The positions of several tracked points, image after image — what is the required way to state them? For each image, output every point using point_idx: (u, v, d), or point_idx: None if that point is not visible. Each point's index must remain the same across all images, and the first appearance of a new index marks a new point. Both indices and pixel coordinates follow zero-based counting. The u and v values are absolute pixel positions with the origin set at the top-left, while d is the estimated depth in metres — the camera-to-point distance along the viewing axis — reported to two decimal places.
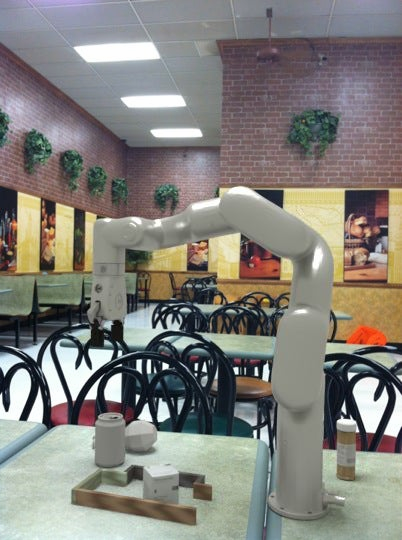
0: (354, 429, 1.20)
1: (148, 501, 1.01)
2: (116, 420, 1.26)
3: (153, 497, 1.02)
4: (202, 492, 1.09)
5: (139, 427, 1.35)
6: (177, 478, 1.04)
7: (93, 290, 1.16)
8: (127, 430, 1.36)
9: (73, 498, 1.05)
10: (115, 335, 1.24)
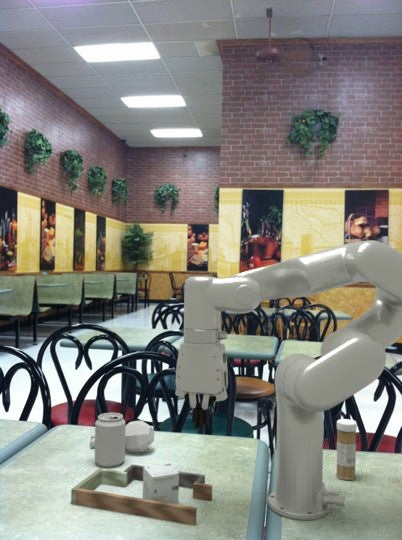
0: (354, 429, 1.20)
1: (148, 501, 1.01)
2: (116, 420, 1.26)
3: (153, 497, 1.02)
4: (202, 492, 1.09)
5: (135, 428, 1.34)
6: (177, 478, 1.04)
7: (222, 361, 1.01)
8: None
9: (73, 498, 1.05)
10: None
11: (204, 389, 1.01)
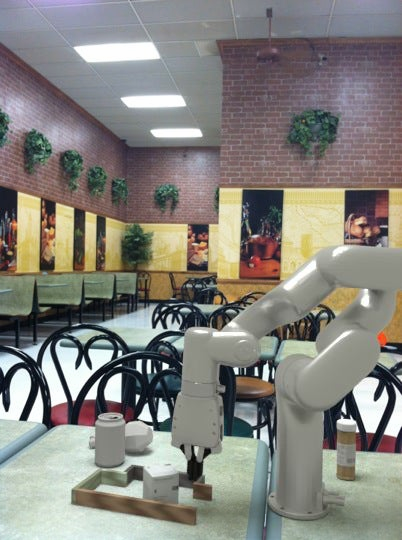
0: (354, 429, 1.20)
1: (148, 501, 1.01)
2: (116, 420, 1.26)
3: (153, 497, 1.02)
4: (202, 492, 1.09)
5: (134, 428, 1.34)
6: (177, 478, 1.04)
7: (218, 414, 1.01)
8: None
9: (73, 498, 1.05)
10: None
11: (200, 442, 1.01)
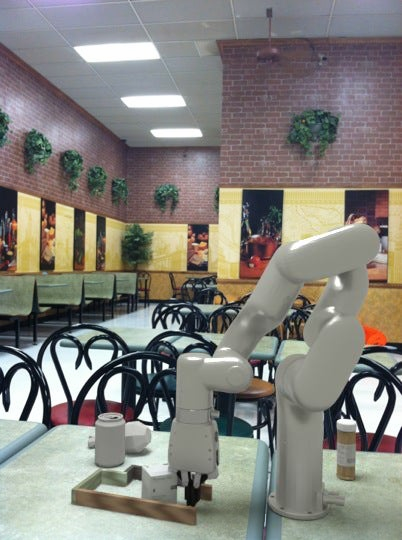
0: (354, 429, 1.20)
1: (148, 501, 1.01)
2: (116, 420, 1.26)
3: (152, 497, 1.02)
4: (202, 492, 1.09)
5: (132, 429, 1.34)
6: (176, 477, 1.04)
7: (214, 440, 1.01)
8: None
9: (73, 498, 1.05)
10: None
11: (196, 468, 1.01)
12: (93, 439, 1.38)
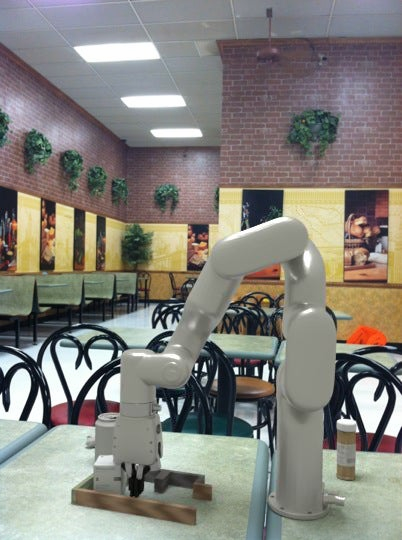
0: (354, 429, 1.20)
1: (148, 501, 1.01)
2: None
3: (95, 485, 1.08)
4: (202, 492, 1.09)
5: None
6: (119, 470, 1.08)
7: (155, 433, 1.05)
8: None
9: (73, 498, 1.05)
10: None
11: (138, 460, 1.05)
12: (91, 439, 1.38)
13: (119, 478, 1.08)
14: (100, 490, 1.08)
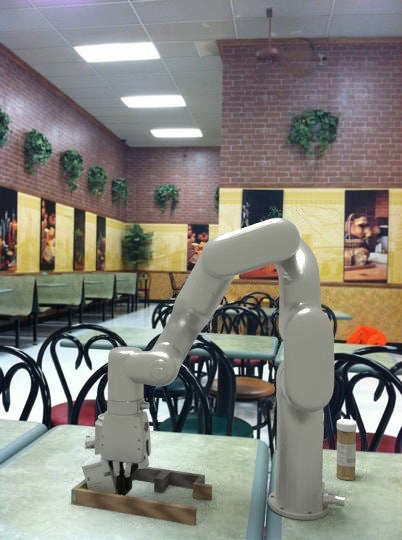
0: (354, 429, 1.20)
1: (148, 501, 1.01)
2: None
3: (89, 485, 1.08)
4: (202, 492, 1.09)
5: None
6: (106, 465, 1.07)
7: (143, 430, 1.05)
8: None
9: (73, 498, 1.05)
10: None
11: (126, 458, 1.05)
12: (90, 439, 1.38)
13: (109, 473, 1.07)
14: (94, 489, 1.07)
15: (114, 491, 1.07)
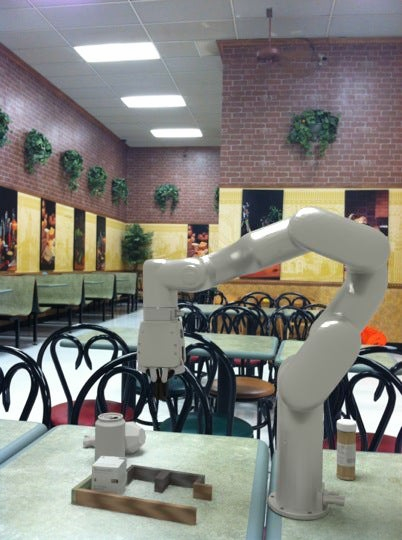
0: (354, 429, 1.20)
1: (148, 501, 1.01)
2: (116, 420, 1.26)
3: (93, 485, 1.08)
4: (202, 492, 1.09)
5: (125, 429, 1.33)
6: (116, 472, 1.07)
7: (179, 336, 1.09)
8: None
9: (73, 498, 1.05)
10: None
11: (163, 363, 1.09)
12: (88, 438, 1.39)
13: (116, 480, 1.07)
14: None
15: None
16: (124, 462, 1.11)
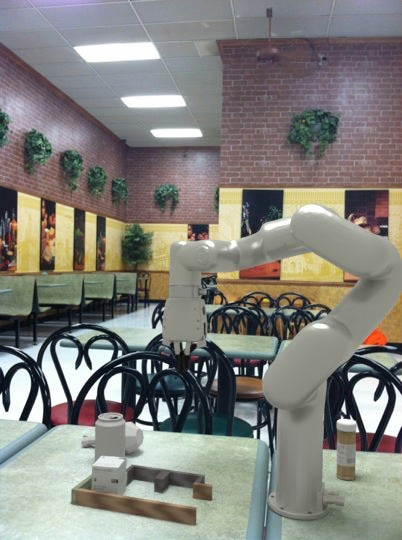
0: (354, 429, 1.20)
1: (148, 501, 1.01)
2: (116, 420, 1.26)
3: (93, 485, 1.08)
4: (202, 492, 1.09)
5: None
6: (116, 472, 1.07)
7: (201, 313, 1.18)
8: None
9: (73, 498, 1.05)
10: None
11: (186, 337, 1.18)
12: (87, 438, 1.39)
13: (116, 480, 1.07)
14: None
15: None
16: (124, 462, 1.11)
